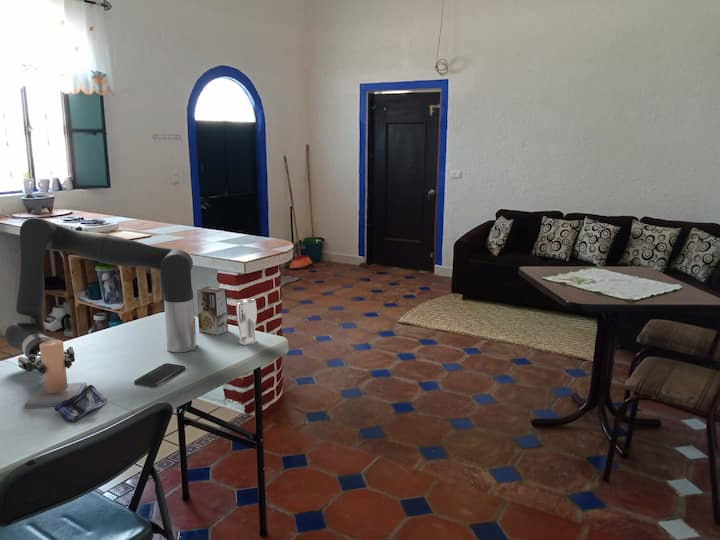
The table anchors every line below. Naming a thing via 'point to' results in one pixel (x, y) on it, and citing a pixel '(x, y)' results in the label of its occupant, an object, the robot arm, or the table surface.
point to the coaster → (54, 396)
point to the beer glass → (246, 320)
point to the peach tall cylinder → (53, 366)
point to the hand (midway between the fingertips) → (56, 367)
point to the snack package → (80, 404)
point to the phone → (159, 375)
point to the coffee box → (212, 310)
